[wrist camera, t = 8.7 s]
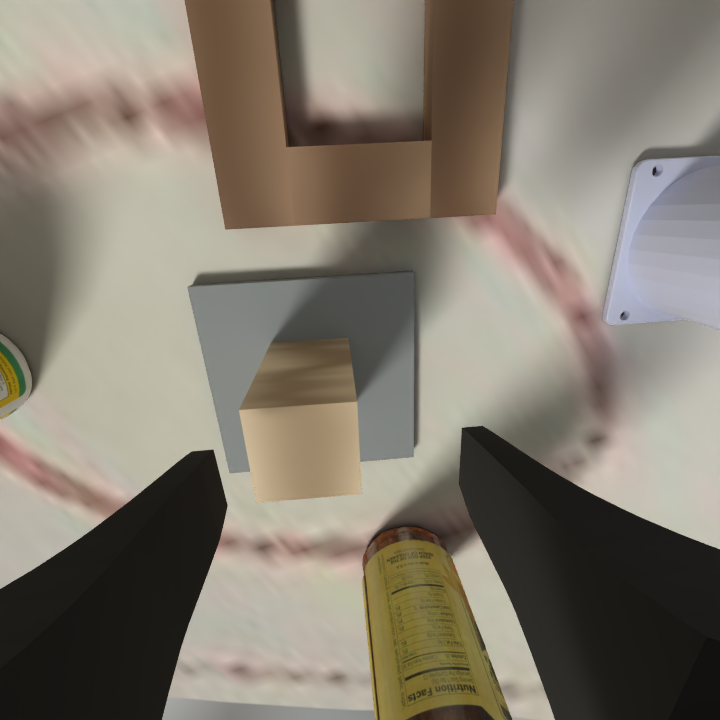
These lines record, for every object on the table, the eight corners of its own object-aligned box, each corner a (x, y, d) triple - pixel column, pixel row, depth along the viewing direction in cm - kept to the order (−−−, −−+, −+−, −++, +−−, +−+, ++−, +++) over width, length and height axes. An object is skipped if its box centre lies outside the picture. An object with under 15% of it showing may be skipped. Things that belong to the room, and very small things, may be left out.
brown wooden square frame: (507, -139, 13) (528, -181, 12) (483, 214, 18) (495, 214, 16) (172, -137, 13) (152, -180, 11) (233, 228, 17) (225, 229, 16)
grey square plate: (412, 271, 19) (414, 272, 18) (411, 451, 23) (413, 456, 22) (191, 284, 18) (187, 287, 17) (232, 466, 22) (229, 473, 22)
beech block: (348, 337, 19) (357, 401, 12) (352, 405, 20) (361, 493, 14) (270, 342, 19) (239, 409, 12) (280, 410, 20) (256, 502, 14)
